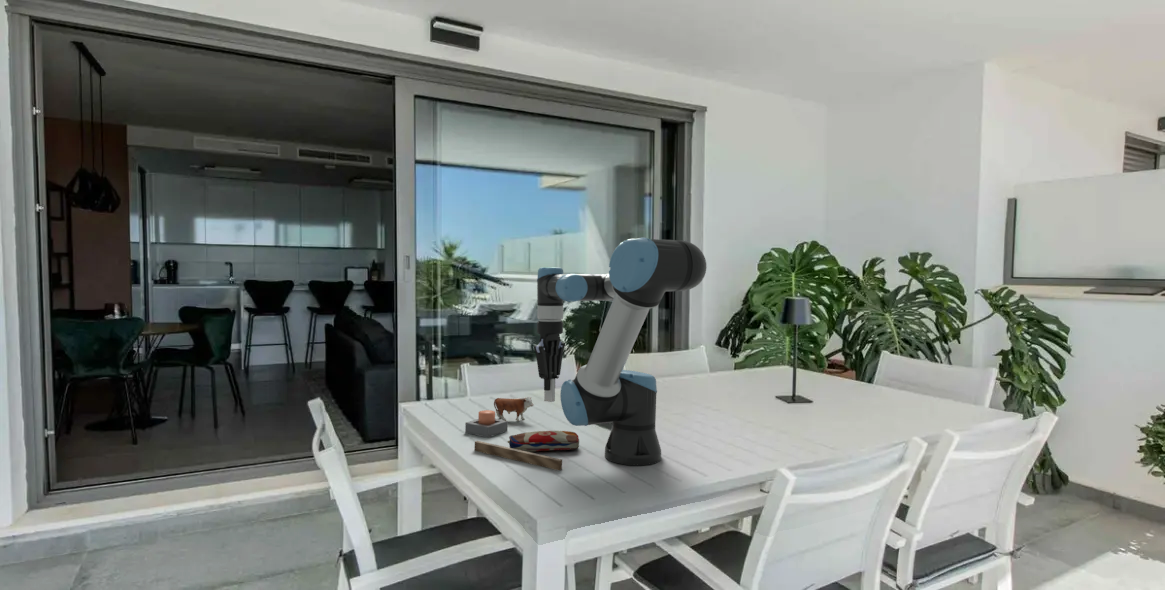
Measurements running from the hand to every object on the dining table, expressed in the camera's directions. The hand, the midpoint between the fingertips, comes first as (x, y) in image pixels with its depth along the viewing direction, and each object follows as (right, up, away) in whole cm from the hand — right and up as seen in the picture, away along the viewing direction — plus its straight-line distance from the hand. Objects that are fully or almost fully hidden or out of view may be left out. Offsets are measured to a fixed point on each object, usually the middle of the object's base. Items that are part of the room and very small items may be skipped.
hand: (549, 401), depth 180 cm
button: (-20, -9, +8) cm, 23 cm away
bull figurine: (-13, -11, +23) cm, 28 cm away
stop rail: (-8, -12, -18) cm, 23 cm away
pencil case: (-1, -13, -9) cm, 15 cm away
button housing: (-20, -11, +8) cm, 24 cm away
